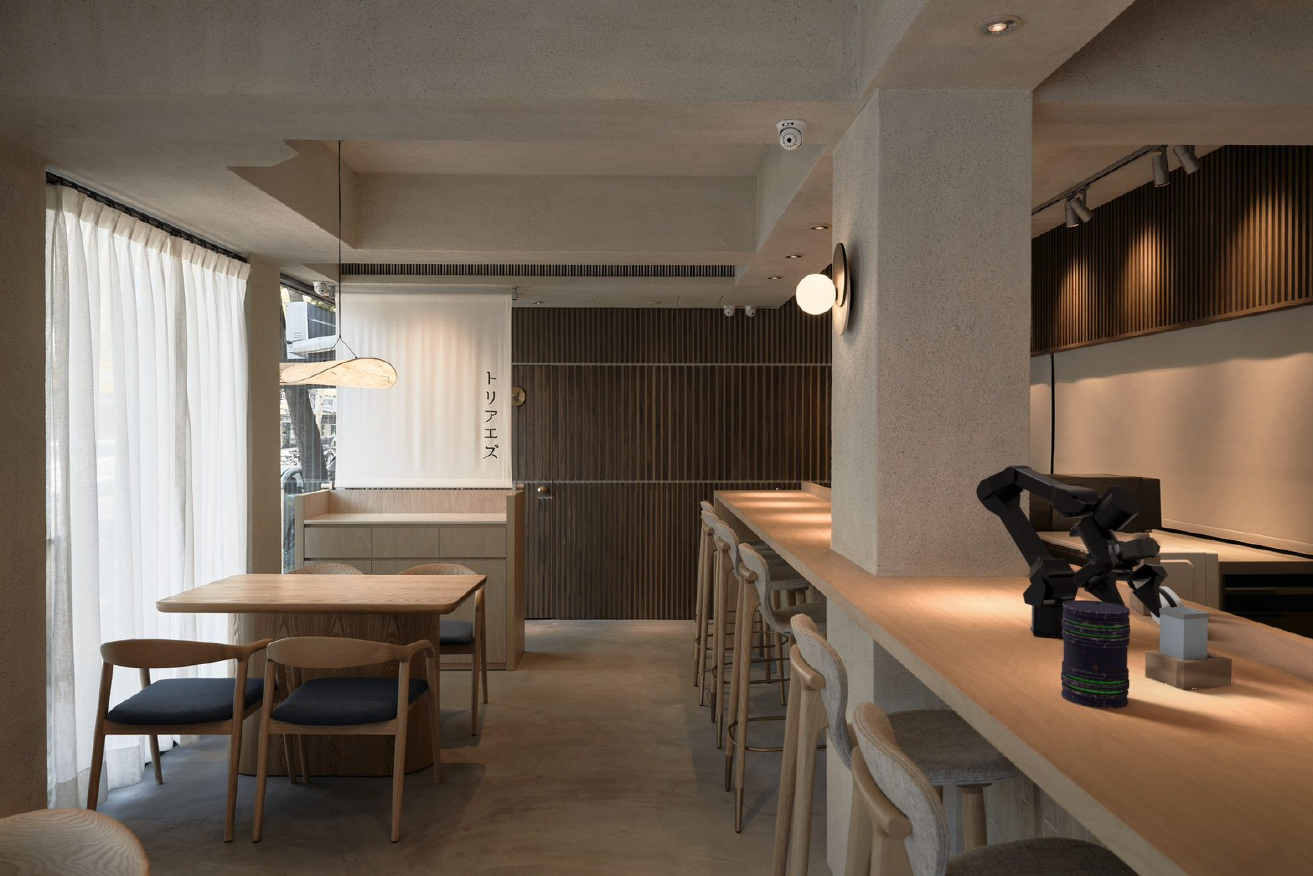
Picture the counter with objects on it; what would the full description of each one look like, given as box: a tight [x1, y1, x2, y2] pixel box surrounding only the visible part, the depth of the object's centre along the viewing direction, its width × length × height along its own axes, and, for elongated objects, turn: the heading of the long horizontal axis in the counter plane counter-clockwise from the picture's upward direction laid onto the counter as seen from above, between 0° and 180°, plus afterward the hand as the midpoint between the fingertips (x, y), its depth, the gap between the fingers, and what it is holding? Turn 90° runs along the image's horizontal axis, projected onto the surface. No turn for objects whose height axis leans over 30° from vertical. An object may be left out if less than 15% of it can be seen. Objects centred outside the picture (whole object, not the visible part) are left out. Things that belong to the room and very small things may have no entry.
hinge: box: [1150, 585, 1185, 626], centre depth 191 cm, size 17×5×10 cm, turn 165°
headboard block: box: [1144, 650, 1233, 691], centre depth 152 cm, size 8×10×4 cm
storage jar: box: [1060, 599, 1131, 710], centre depth 142 cm, size 10×10×15 cm
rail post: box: [1159, 606, 1210, 660], centre depth 153 cm, size 5×5×12 cm
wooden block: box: [1129, 532, 1161, 617], centre depth 208 cm, size 4×11×18 cm, turn 167°
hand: (1143, 616), depth 161 cm, fingers open, 9 cm apart
